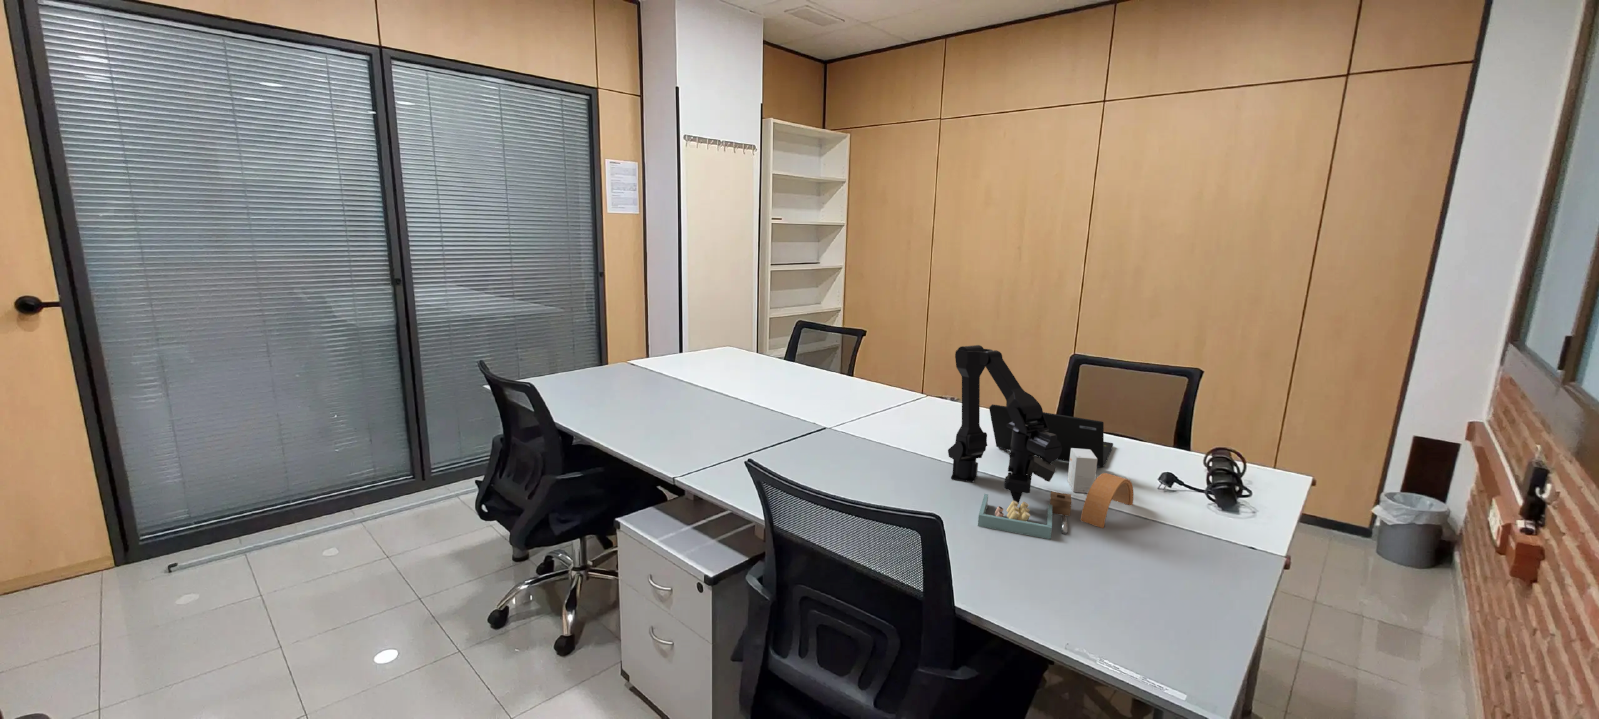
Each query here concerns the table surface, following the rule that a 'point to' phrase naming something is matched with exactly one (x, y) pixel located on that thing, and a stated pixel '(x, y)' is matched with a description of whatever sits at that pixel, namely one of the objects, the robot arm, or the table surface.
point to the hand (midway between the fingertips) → (1016, 503)
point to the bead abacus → (1015, 511)
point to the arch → (1105, 497)
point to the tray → (1015, 523)
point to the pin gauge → (1063, 524)
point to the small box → (1081, 469)
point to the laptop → (1058, 433)
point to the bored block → (1060, 503)
